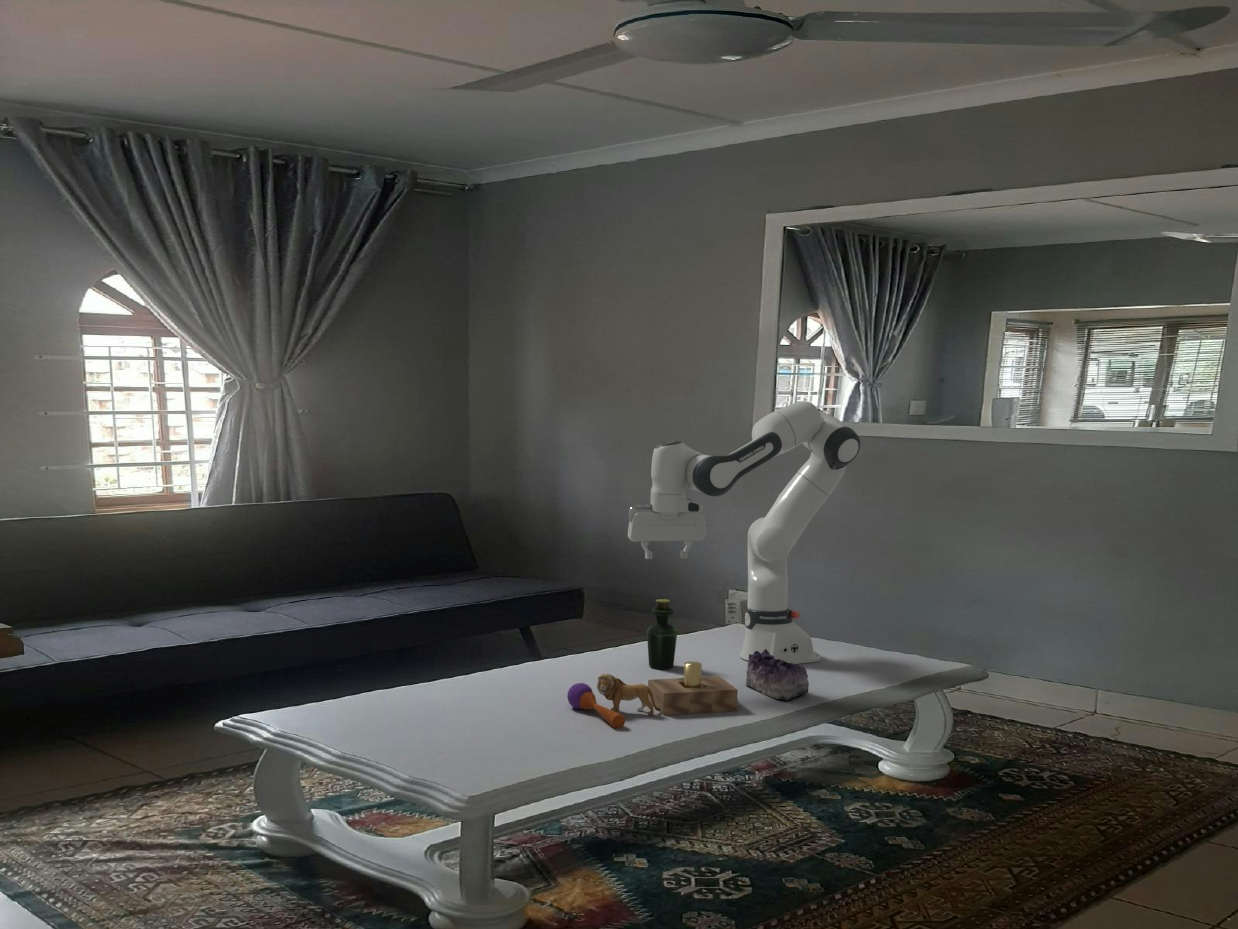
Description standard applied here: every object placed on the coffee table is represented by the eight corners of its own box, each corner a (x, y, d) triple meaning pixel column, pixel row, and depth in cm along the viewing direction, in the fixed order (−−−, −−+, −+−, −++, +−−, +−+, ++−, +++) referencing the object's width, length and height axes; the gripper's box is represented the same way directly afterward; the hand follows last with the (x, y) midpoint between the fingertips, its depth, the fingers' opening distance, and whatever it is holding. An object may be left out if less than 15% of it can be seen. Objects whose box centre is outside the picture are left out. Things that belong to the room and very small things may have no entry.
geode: (727, 684, 272) (731, 645, 273) (763, 685, 278) (767, 647, 279) (777, 702, 255) (782, 659, 255) (815, 702, 261) (819, 661, 261)
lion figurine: (597, 716, 242) (598, 677, 242) (595, 709, 248) (596, 670, 247) (661, 716, 243) (662, 677, 243) (659, 709, 249) (660, 671, 248)
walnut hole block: (718, 696, 260) (719, 676, 260) (737, 710, 249) (737, 689, 249) (647, 700, 256) (648, 679, 255) (663, 715, 244) (663, 693, 244)
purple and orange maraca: (605, 713, 232) (561, 684, 248) (608, 738, 233) (564, 707, 250) (629, 705, 234) (583, 676, 251) (631, 730, 236) (586, 700, 253)
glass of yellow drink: (697, 702, 255) (698, 661, 254) (702, 707, 251) (704, 665, 250) (681, 703, 254) (682, 661, 253) (686, 708, 250) (687, 666, 249)
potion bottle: (682, 667, 287) (684, 601, 286) (660, 672, 282) (661, 604, 281) (662, 661, 294) (663, 596, 292) (639, 666, 288) (641, 599, 287)
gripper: (632, 506, 268) (630, 560, 269) (709, 505, 273) (707, 559, 274) (625, 503, 274) (623, 557, 275) (700, 503, 279) (699, 555, 280)
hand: (666, 558), depth 275 cm, fingers open, 8 cm apart
